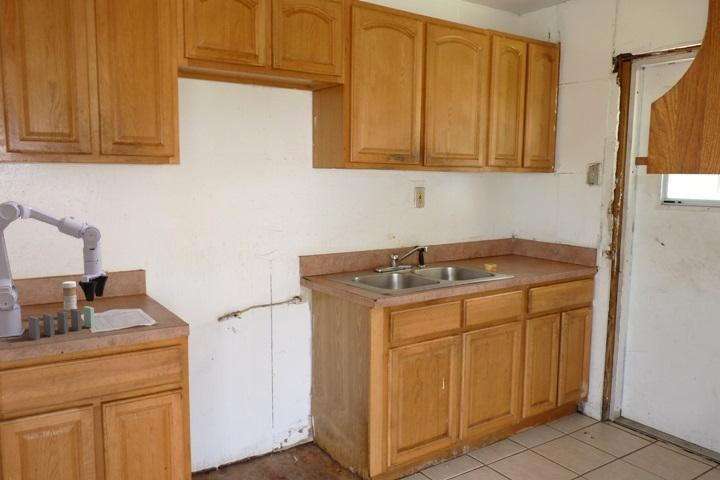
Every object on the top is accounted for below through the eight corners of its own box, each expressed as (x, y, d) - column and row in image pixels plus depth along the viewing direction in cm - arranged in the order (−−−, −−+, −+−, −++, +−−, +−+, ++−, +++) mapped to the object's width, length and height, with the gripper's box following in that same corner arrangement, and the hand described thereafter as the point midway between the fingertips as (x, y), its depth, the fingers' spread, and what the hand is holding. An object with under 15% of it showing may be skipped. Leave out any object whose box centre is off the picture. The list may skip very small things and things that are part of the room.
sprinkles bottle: (67, 316, 211) (65, 280, 209) (79, 315, 211) (77, 280, 210) (61, 319, 206) (59, 283, 205) (74, 318, 207) (72, 282, 205)
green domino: (87, 325, 197) (86, 306, 196) (94, 327, 194) (93, 307, 193) (84, 326, 196) (83, 306, 195) (91, 328, 193) (90, 308, 192)
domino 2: (50, 337, 182) (49, 316, 182) (44, 334, 185) (42, 314, 184) (54, 336, 183) (53, 315, 183) (47, 333, 186) (46, 313, 185)
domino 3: (64, 334, 186) (63, 313, 185) (57, 331, 189) (56, 311, 188) (68, 333, 187) (67, 312, 186) (61, 331, 190) (60, 310, 189)
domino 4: (78, 331, 190) (77, 311, 189) (71, 329, 192) (70, 309, 192) (81, 330, 190) (80, 310, 190) (74, 328, 193) (73, 308, 193)
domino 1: (36, 340, 179) (34, 318, 178) (29, 337, 182) (28, 316, 181) (40, 339, 180) (38, 318, 179) (33, 336, 183) (32, 315, 182)
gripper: (95, 263, 187) (98, 303, 189) (112, 257, 202) (114, 294, 203) (74, 263, 187) (76, 303, 189) (92, 257, 201) (94, 294, 203)
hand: (94, 298), depth 196 cm, fingers open, 7 cm apart
